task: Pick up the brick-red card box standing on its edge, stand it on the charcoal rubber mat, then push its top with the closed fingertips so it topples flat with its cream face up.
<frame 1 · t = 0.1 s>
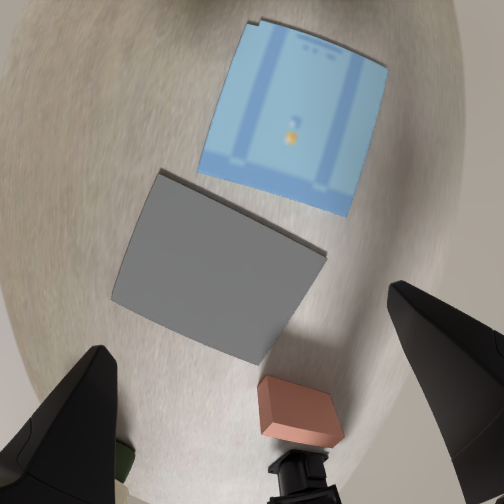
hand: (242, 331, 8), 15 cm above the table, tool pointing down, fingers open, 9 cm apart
character mug: (116, 446, 32), on the table
light blue flat panel: (299, 115, 21), on the table
mat: (212, 279, 24), on the table
card box: (294, 391, 29), on the table
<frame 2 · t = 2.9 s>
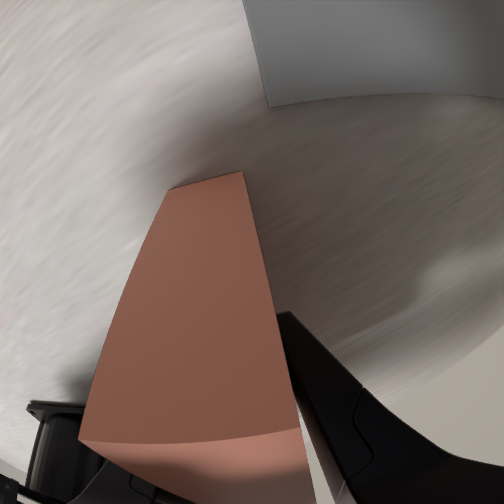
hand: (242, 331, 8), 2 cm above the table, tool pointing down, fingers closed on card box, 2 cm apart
card box: (239, 297, 9), on the table, touching gripper
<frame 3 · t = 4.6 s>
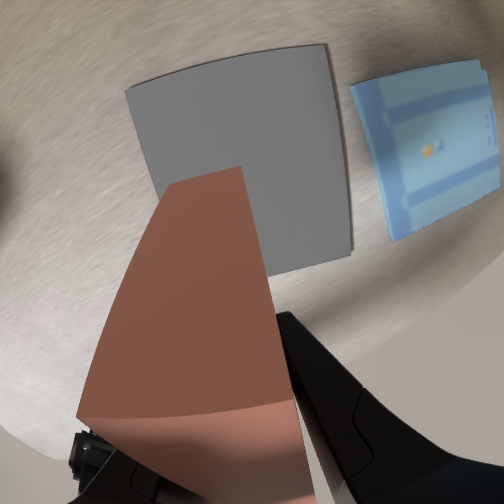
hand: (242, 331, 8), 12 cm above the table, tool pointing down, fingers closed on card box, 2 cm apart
light blue flat panel: (437, 142, 18), on the table
mat: (251, 175, 18), on the table
card box: (238, 291, 10), point 10 cm above the table, touching gripper
when the fingers open (3 cm above the table, at t = 6.5 s): card box stays where it is, resting on mat.
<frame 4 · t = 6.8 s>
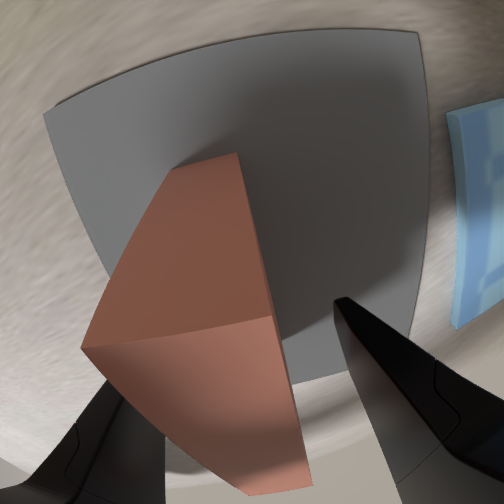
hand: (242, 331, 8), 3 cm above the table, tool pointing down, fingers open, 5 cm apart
mat: (277, 263, 11), on the table
card box: (235, 272, 10), resting on mat
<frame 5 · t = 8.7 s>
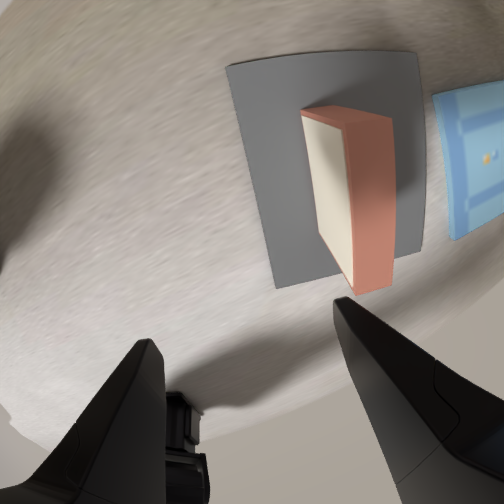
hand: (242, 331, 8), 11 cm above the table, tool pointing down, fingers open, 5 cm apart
light blue flat panel: (490, 151, 18), on the table
mat: (347, 170, 17), on the table
card box: (326, 172, 17), resting on mat
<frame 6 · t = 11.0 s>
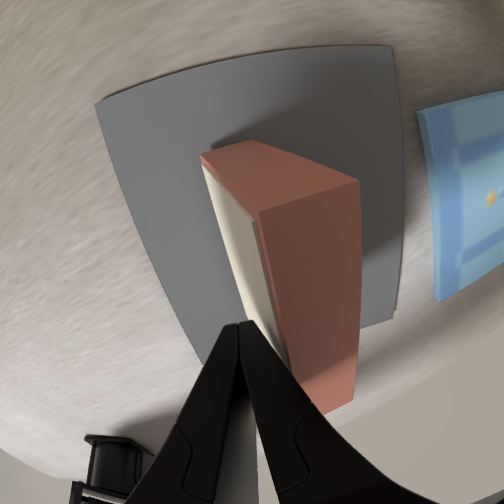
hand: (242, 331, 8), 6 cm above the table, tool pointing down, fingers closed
light blue flat panel: (496, 183, 13), on the table
mat: (281, 229, 13), on the table
card box: (248, 238, 12), point 1 cm above the table, tilted 13°, touching gripper, mat
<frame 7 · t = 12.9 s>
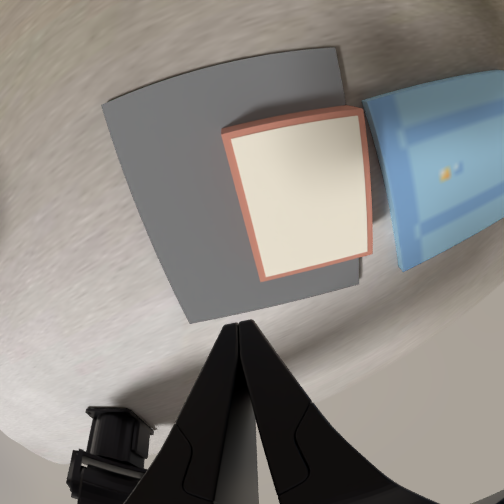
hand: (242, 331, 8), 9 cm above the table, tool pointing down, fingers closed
light blue flat panel: (455, 162, 16), on the table
mat: (249, 200, 16), on the table
card box: (241, 208, 15), point 1 cm above the table, tilted 90°, touching mat
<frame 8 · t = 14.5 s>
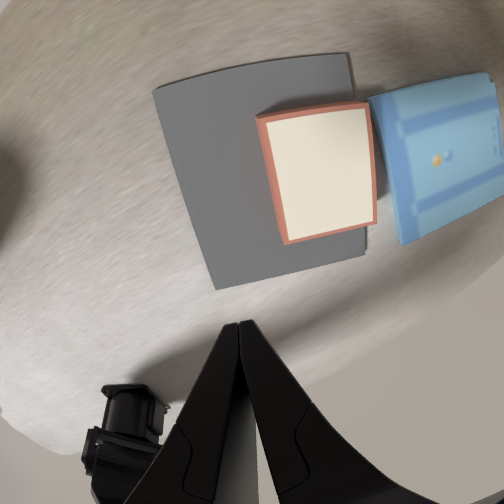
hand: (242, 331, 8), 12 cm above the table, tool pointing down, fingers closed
light blue flat panel: (445, 152, 19), on the table
mat: (274, 177, 19), on the table
card box: (270, 181, 17), point 1 cm above the table, tilted 90°, touching mat
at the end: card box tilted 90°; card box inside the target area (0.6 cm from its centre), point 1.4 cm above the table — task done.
